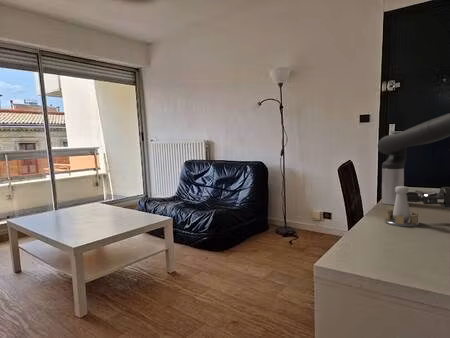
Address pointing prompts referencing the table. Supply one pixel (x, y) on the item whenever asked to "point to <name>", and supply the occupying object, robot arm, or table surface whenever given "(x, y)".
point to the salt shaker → (401, 203)
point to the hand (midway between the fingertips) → (404, 196)
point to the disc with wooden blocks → (401, 219)
